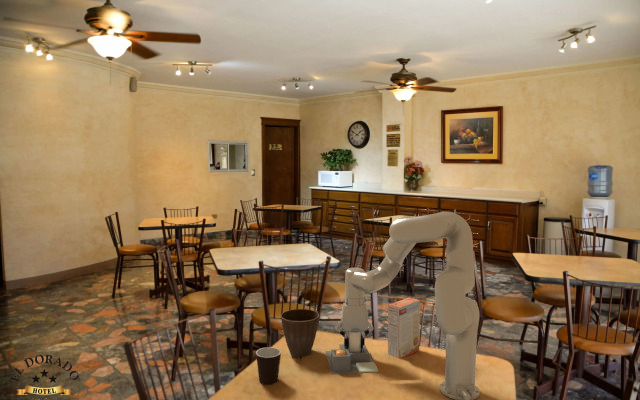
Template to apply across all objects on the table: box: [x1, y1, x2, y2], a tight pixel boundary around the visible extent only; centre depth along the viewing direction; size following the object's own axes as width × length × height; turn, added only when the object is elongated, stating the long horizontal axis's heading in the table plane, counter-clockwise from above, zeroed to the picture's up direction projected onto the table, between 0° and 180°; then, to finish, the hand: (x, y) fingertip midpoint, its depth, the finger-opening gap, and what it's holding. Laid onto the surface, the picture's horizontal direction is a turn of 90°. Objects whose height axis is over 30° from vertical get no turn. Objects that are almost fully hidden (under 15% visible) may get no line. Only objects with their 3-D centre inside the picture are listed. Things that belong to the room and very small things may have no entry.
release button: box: [336, 349, 346, 356], centre depth 168 cm, size 4×4×4 cm
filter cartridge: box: [348, 328, 361, 353], centre depth 178 cm, size 5×5×12 cm
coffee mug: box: [255, 346, 282, 386], centre depth 162 cm, size 12×9×10 cm
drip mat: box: [356, 361, 379, 374], centre depth 169 cm, size 7×7×1 cm
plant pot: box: [280, 308, 320, 359], centre depth 182 cm, size 15×15×16 cm
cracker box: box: [387, 297, 421, 359], centre depth 183 cm, size 14×6×21 cm, turn 134°
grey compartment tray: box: [325, 343, 379, 375], centre depth 174 cm, size 20×17×6 cm
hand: (354, 346), depth 178 cm, fingers closed on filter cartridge, 5 cm apart
